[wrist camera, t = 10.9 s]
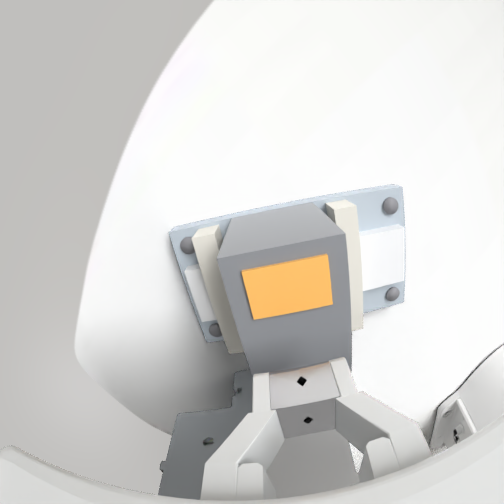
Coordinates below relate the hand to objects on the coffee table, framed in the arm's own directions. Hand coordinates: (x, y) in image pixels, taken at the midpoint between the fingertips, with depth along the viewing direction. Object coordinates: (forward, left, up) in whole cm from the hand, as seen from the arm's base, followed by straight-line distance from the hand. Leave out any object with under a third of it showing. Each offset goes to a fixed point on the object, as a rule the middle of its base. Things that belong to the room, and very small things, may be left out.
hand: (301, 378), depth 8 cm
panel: (0, -1, -10) cm, 10 cm away
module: (0, 0, -8) cm, 8 cm away
